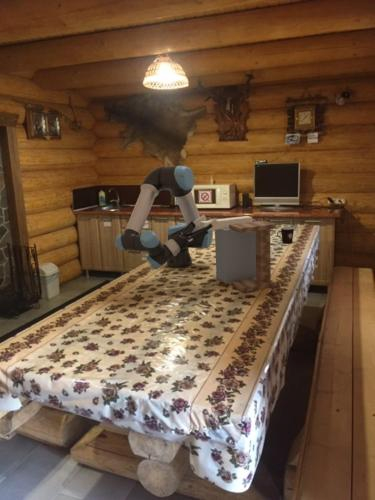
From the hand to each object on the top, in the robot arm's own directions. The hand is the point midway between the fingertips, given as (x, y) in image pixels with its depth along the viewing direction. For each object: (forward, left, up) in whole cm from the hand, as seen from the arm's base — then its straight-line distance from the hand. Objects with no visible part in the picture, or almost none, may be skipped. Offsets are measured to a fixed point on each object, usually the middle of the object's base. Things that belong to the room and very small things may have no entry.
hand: (210, 218), depth 203 cm
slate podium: (+12, +3, -32) cm, 35 cm away
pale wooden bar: (+8, +2, -5) cm, 10 cm away
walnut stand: (+18, -11, -32) cm, 38 cm away
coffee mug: (+61, +74, -32) cm, 101 cm away
